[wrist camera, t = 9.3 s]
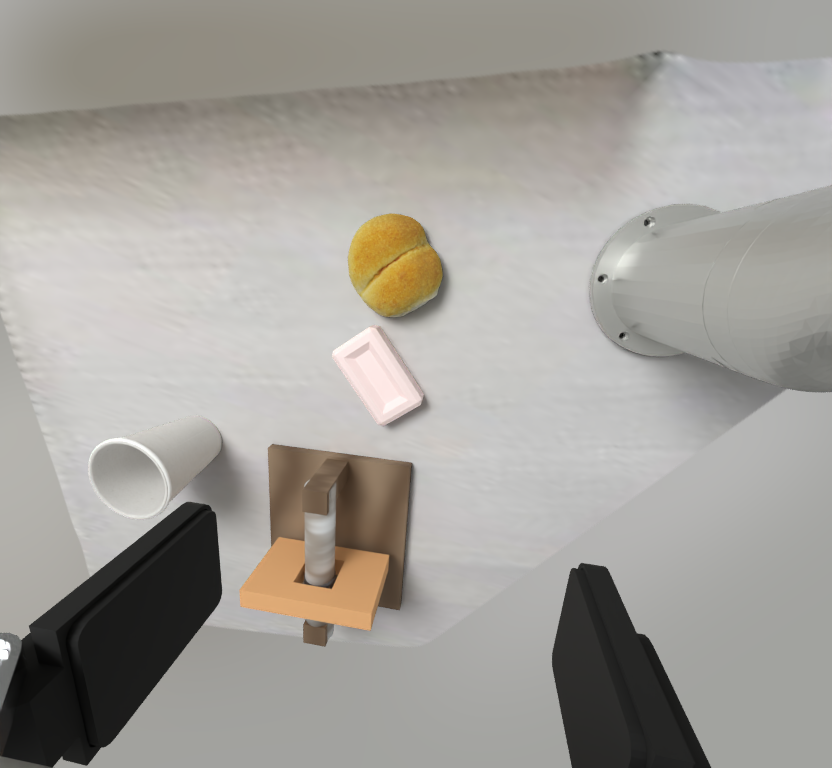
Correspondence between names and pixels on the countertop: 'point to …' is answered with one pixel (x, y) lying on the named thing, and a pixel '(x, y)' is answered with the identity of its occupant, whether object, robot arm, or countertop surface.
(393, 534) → the pipe stand
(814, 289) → the robot arm
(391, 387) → the soap bar
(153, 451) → the dixie cup
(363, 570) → the collar
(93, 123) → the countertop surface
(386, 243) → the bread roll
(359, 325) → the countertop surface
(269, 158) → the countertop surface
